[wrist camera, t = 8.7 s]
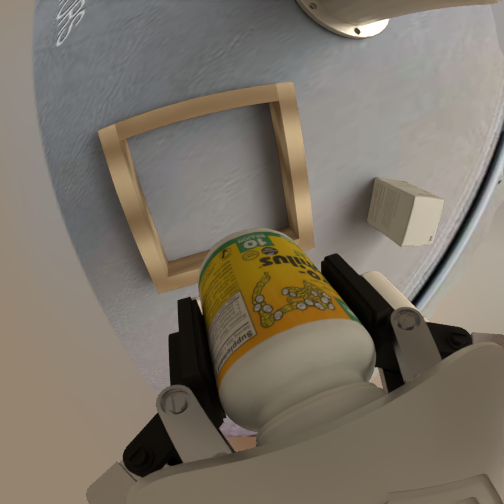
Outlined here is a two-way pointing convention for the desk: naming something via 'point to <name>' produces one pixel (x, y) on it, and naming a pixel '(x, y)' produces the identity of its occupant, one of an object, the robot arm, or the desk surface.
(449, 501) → the robot arm
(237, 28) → the desk surface
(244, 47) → the desk surface
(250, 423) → the supplement bottle
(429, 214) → the product box
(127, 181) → the wooden square frame
